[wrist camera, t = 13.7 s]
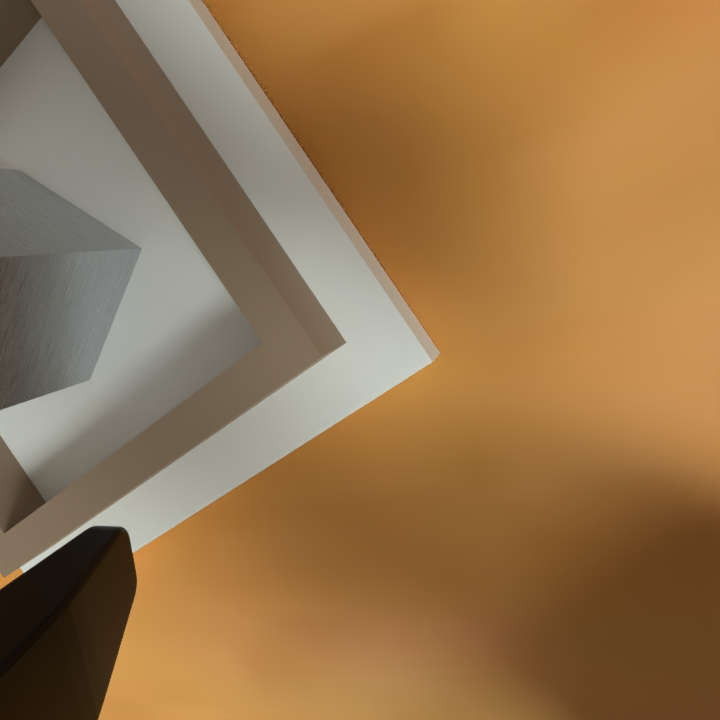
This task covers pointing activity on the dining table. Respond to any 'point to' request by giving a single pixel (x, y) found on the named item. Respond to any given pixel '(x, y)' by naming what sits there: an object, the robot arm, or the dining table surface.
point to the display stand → (181, 275)
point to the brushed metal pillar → (54, 289)
